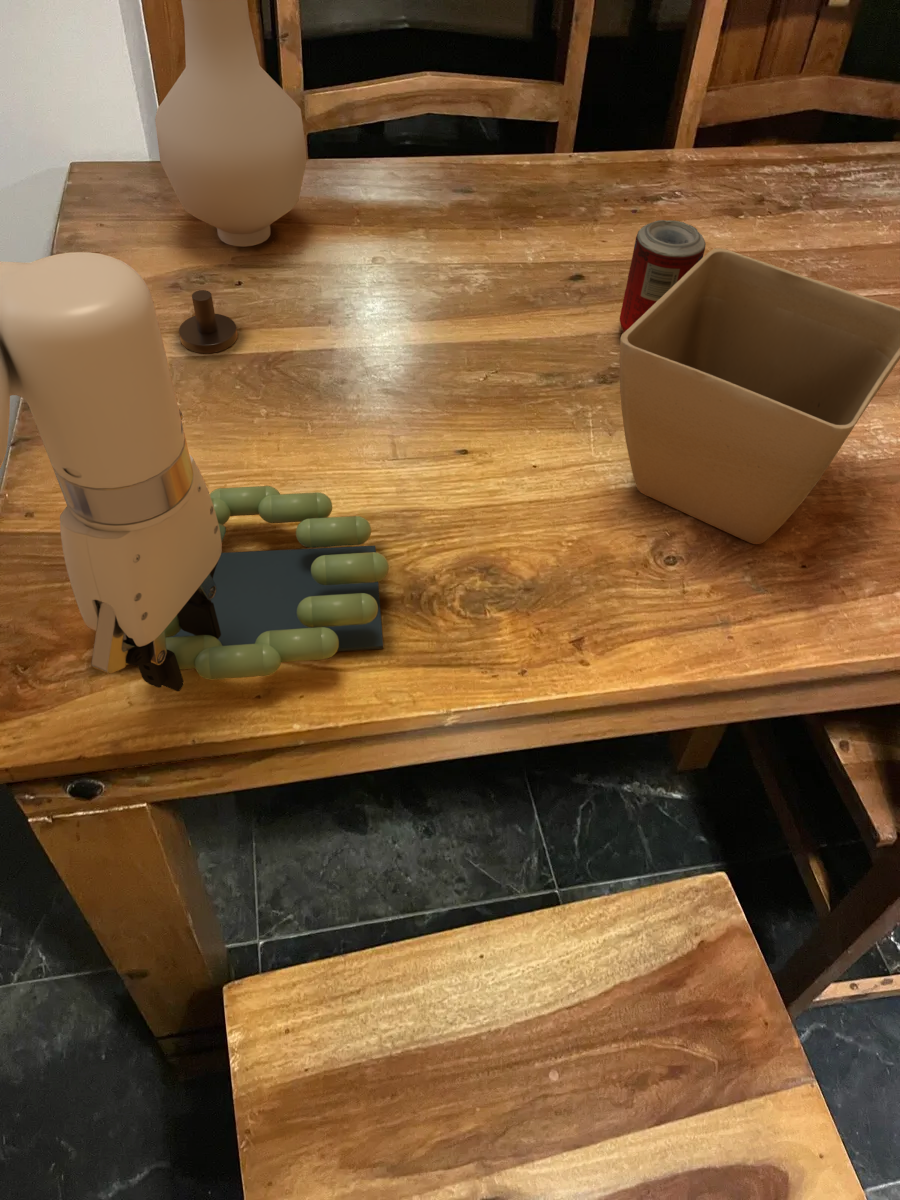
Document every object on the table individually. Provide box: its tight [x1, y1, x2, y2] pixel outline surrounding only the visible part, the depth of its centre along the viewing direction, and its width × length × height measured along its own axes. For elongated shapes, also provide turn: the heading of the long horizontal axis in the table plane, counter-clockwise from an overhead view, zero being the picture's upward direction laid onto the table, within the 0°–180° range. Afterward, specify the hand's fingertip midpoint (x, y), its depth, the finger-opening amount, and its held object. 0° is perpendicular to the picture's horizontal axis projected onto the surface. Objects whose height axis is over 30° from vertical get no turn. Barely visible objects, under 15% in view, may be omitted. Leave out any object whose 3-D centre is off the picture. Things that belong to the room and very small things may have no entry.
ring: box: [165, 485, 390, 681], centre depth 74 cm, size 23×19×2 cm
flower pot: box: [619, 247, 900, 545], centre depth 82 cm, size 19×19×17 cm
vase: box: [154, 0, 307, 248], centre depth 104 cm, size 17×16×28 cm
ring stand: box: [178, 289, 238, 354], centre depth 98 cm, size 6×6×5 cm
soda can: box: [619, 219, 707, 334], centre depth 99 cm, size 7×7×12 cm
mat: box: [165, 545, 384, 652], centre depth 76 cm, size 22×11×1 cm, turn 96°
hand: (182, 655), depth 69 cm, fingers closed on ring, 4 cm apart
